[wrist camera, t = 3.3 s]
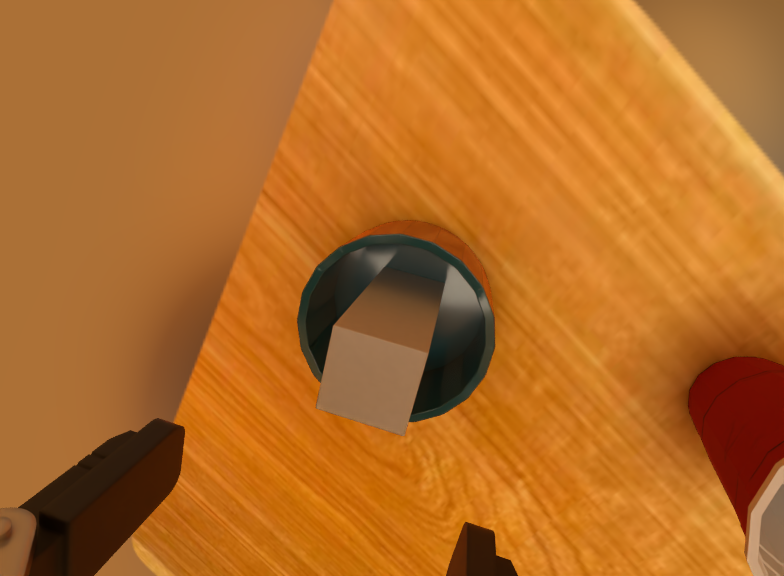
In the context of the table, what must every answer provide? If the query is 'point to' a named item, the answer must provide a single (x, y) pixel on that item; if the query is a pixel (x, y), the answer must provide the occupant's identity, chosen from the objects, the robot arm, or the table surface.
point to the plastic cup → (747, 449)
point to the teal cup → (455, 317)
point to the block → (381, 351)
